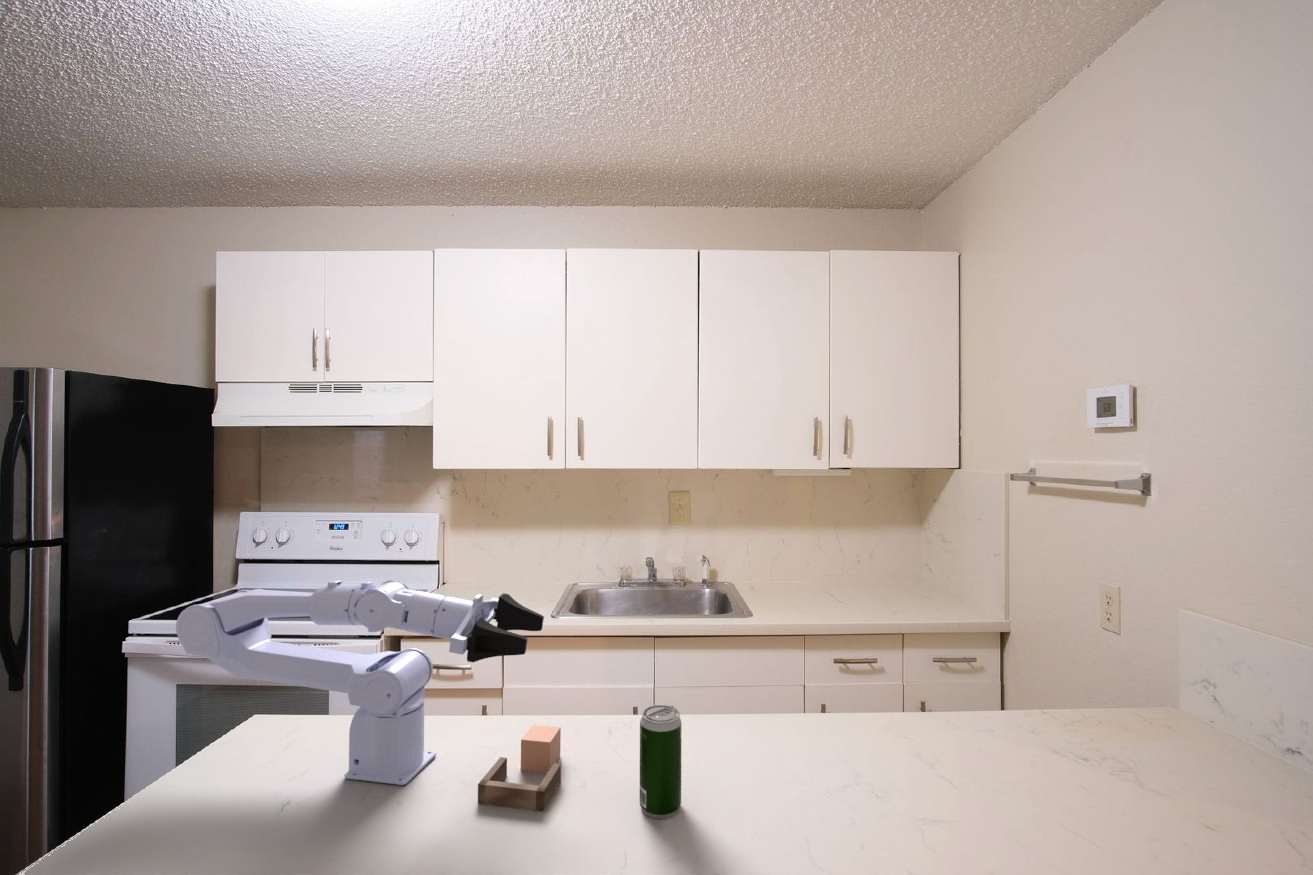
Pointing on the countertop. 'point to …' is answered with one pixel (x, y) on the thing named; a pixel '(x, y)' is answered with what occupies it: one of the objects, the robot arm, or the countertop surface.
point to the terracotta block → (540, 748)
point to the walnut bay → (517, 789)
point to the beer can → (660, 761)
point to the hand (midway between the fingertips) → (534, 634)
